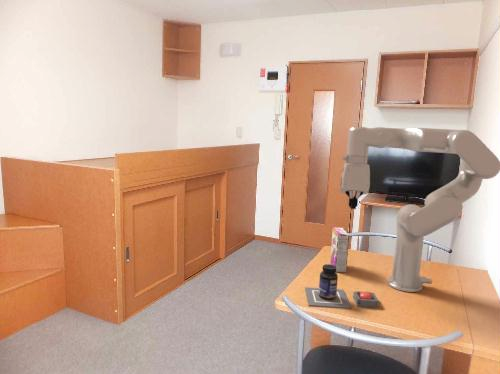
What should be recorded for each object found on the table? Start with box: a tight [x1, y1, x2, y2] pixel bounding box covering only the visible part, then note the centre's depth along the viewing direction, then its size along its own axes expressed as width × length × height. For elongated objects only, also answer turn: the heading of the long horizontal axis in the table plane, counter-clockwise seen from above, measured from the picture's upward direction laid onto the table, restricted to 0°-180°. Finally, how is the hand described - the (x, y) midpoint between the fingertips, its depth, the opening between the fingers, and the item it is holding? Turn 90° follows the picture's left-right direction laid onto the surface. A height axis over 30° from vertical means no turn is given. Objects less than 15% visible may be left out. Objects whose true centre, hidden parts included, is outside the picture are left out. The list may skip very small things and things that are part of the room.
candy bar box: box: [330, 226, 350, 273], centre depth 161 cm, size 11×5×16 cm, turn 179°
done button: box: [360, 291, 372, 300], centre depth 131 cm, size 4×4×2 cm
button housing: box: [352, 290, 380, 308], centre depth 131 cm, size 7×7×2 cm
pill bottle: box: [318, 263, 339, 300], centre depth 132 cm, size 6×6×11 cm
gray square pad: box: [304, 286, 352, 310], centre depth 133 cm, size 14×14×1 cm
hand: (352, 208), depth 145 cm, fingers closed
